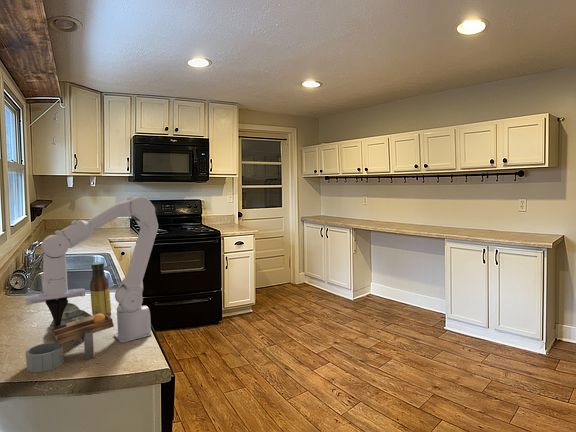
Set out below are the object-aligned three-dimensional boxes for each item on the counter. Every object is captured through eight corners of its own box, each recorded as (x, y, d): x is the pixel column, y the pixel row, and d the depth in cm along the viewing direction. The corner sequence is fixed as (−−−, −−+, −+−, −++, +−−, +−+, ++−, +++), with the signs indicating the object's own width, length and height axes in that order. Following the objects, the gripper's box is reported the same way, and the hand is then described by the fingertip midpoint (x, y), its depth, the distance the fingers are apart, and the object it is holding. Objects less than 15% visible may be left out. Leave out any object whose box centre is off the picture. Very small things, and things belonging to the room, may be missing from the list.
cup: (59, 355, 112) (58, 339, 111) (65, 365, 105) (64, 349, 105) (25, 364, 106) (24, 347, 106) (29, 375, 100) (28, 358, 100)
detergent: (100, 335, 126) (89, 312, 146) (96, 314, 125) (86, 293, 145) (52, 348, 119) (48, 322, 139) (48, 326, 118) (45, 303, 138)
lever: (101, 315, 123) (100, 308, 123) (114, 327, 113) (113, 319, 113) (50, 331, 114) (49, 323, 114) (59, 345, 105) (57, 336, 104)
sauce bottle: (106, 312, 147) (103, 260, 145) (114, 316, 143) (112, 262, 142) (88, 317, 142) (85, 263, 140) (96, 321, 138) (93, 265, 136)
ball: (105, 317, 116) (99, 310, 115) (108, 320, 114) (102, 312, 113) (96, 324, 115) (90, 317, 114) (99, 327, 113) (92, 320, 111)
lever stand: (80, 341, 121) (79, 317, 120) (94, 359, 109) (92, 332, 108) (73, 343, 120) (71, 318, 119) (86, 361, 108) (84, 334, 107)
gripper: (80, 271, 119) (82, 315, 121) (23, 278, 110) (25, 326, 111) (86, 276, 114) (88, 322, 115) (26, 283, 105) (28, 333, 106)
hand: (57, 324), depth 113 cm, fingers closed, pressing on lever
